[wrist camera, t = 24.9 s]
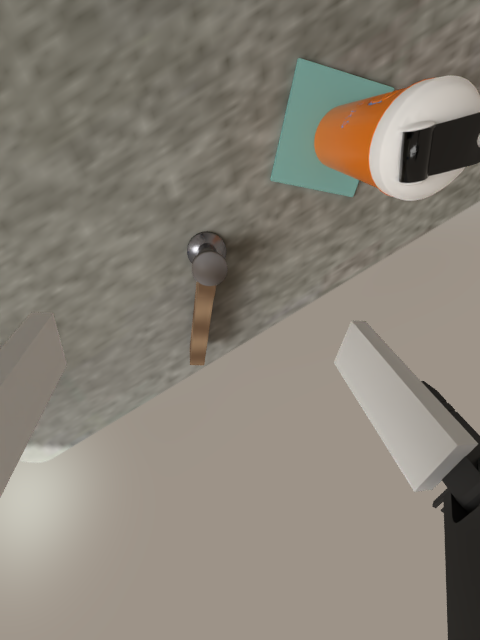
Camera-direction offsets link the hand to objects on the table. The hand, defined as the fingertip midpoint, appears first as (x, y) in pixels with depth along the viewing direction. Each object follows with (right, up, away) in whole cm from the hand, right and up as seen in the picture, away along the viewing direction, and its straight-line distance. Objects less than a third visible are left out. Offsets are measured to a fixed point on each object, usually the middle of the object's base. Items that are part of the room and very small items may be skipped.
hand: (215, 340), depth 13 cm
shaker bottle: (+14, +25, +25) cm, 38 cm away
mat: (+13, +26, +25) cm, 38 cm away
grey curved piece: (-4, +12, +31) cm, 34 cm away
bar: (-5, +4, +34) cm, 35 cm away
